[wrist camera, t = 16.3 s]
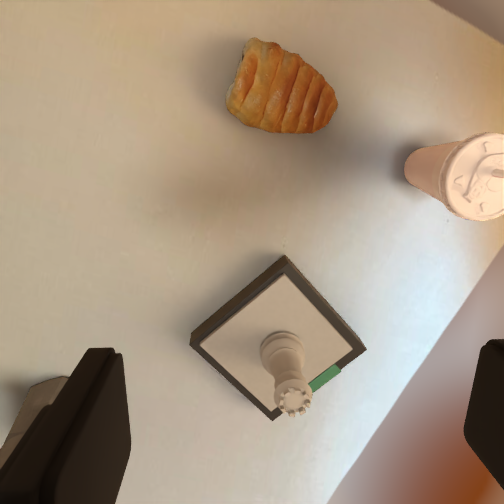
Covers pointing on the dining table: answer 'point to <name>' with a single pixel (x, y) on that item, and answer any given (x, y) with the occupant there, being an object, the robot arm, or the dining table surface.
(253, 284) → the scale
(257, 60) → the pastry
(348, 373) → the dining table surface
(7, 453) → the coffeepot
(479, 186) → the smoothie
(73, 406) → the robot arm
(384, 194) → the dining table surface
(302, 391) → the rook chess piece
